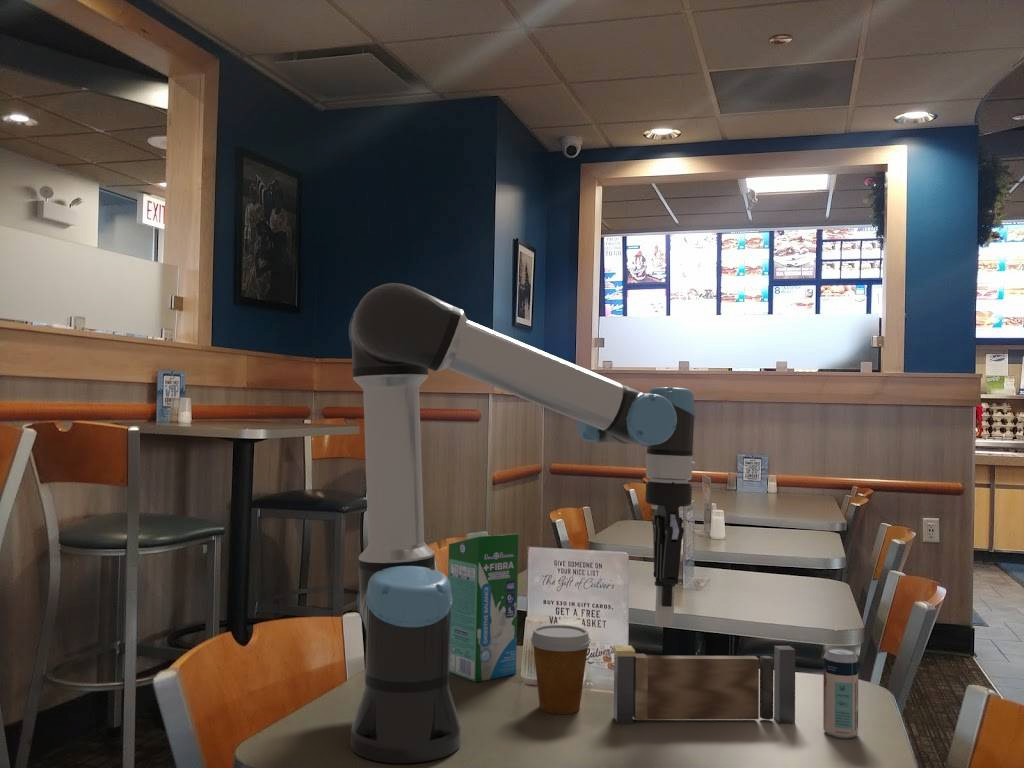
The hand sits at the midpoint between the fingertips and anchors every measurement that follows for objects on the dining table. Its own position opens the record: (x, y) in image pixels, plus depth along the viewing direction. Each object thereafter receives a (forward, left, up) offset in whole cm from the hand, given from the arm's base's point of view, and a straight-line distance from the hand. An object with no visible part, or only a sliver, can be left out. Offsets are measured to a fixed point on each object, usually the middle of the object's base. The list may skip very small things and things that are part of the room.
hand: (664, 625), depth 148 cm
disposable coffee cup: (-18, -5, -12) cm, 22 cm away
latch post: (-9, -11, -12) cm, 18 cm away
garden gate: (+4, -11, -11) cm, 16 cm away
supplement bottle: (+22, -17, -12) cm, 31 cm away
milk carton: (-30, +15, -12) cm, 35 cm away
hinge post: (+16, -11, -12) cm, 23 cm away
